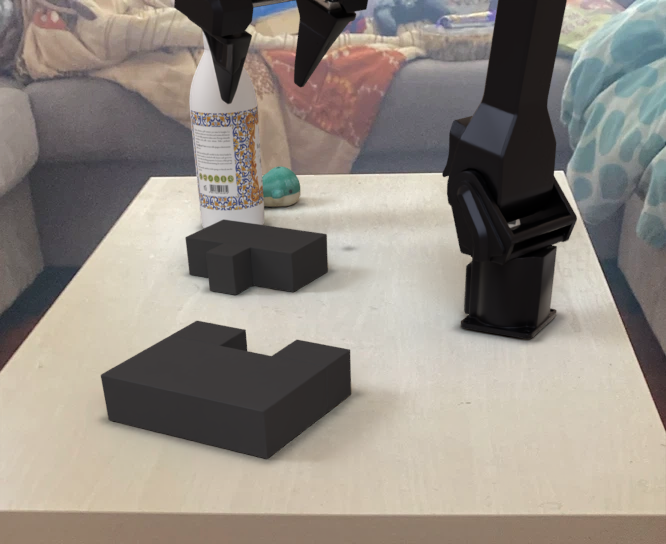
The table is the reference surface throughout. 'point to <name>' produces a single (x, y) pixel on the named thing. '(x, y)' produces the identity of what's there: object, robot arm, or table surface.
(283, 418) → the charcoal pad
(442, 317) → the table surface
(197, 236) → the black t-shaped block
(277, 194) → the whale figurine
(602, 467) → the table surface
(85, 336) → the table surface
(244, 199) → the bath foam
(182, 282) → the table surface
